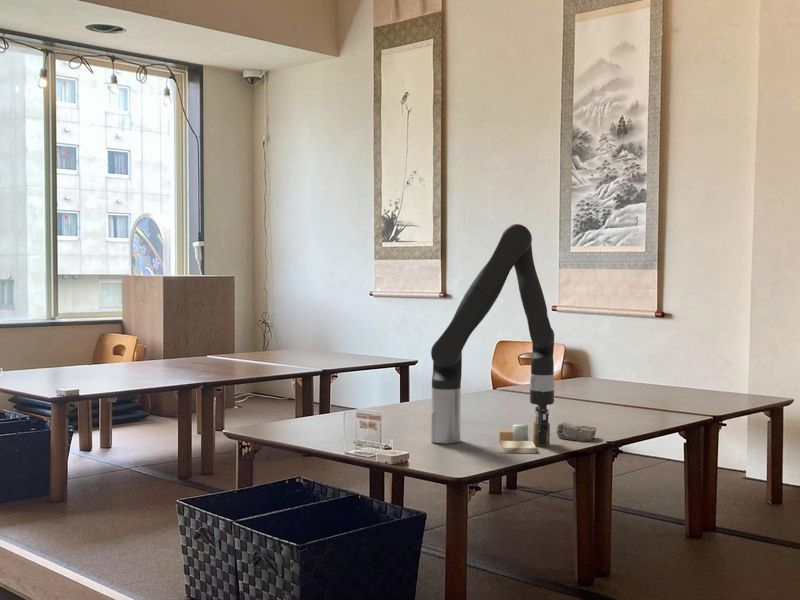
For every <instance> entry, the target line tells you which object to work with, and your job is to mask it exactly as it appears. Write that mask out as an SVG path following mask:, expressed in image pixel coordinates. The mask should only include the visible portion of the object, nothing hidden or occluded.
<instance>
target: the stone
mask: <svg viewBox="0 0 800 600" xmlns="http://www.w3.org/2000/svg"><path fill="white" fill-rule="evenodd" d="M596 432H597V427H595V426H589V425H577V424H572V423H570V422H566V421H565V422H560V423H557V426H556V435H557V437H558V438H559V439H561V440H562V439H563V440H571V441H572V440H573V441H577V442H590V441H591V440H593V439H594V437H596Z"/></svg>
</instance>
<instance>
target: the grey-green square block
mask: <svg viewBox="0 0 800 600" xmlns="http://www.w3.org/2000/svg"><path fill="white" fill-rule="evenodd" d="M511 430H512V431H513V441H529V424H526V423H514V424H512V429H511Z"/></svg>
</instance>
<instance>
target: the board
mask: <svg viewBox="0 0 800 600" xmlns="http://www.w3.org/2000/svg"><path fill="white" fill-rule="evenodd" d="M499 445H500V447H501V450H502V454H503V453H504V454H505V453H506V454H510V453H511V454H537V446H535V445H534V443H533V440H528V441H500V443H499Z"/></svg>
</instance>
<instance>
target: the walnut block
mask: <svg viewBox="0 0 800 600" xmlns="http://www.w3.org/2000/svg"><path fill="white" fill-rule="evenodd" d="M541 427H545V425H542V426H541ZM550 427H551V424H550V422H549V421H548V431H547V432H546V444H539V431H538V430H539V425H538V424H537V422H536V421H533V440H532V441H533V443H534V445H535V446H536V447H550V436H551V435H550V432H551V429H550Z"/></svg>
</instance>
